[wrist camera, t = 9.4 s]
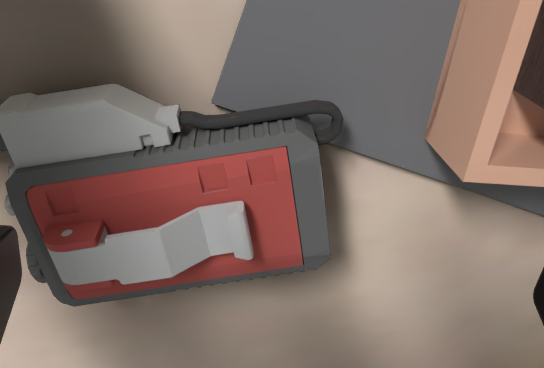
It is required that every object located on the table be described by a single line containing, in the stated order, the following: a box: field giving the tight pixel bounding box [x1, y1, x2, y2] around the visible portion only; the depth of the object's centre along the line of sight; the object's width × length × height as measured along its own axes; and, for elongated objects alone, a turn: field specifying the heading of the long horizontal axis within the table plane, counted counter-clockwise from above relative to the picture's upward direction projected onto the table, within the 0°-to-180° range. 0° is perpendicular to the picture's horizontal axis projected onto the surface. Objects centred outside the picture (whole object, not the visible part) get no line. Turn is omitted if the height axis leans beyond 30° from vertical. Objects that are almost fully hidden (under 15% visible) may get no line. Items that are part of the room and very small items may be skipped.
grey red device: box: [0, 84, 344, 306], centre depth 20 cm, size 9×4×20 cm
